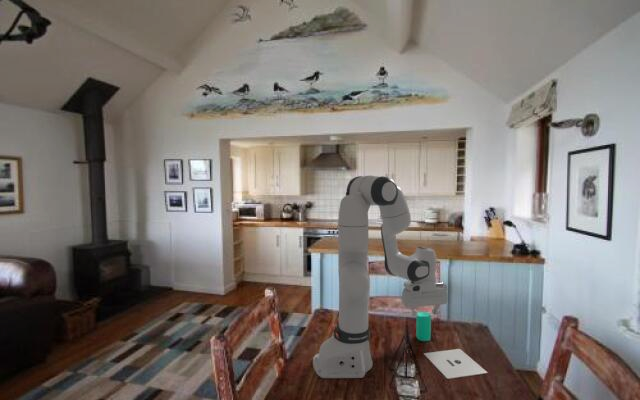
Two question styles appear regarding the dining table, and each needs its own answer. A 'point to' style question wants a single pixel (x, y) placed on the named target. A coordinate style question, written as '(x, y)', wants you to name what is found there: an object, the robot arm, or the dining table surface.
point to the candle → (423, 326)
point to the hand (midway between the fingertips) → (424, 315)
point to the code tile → (454, 363)
